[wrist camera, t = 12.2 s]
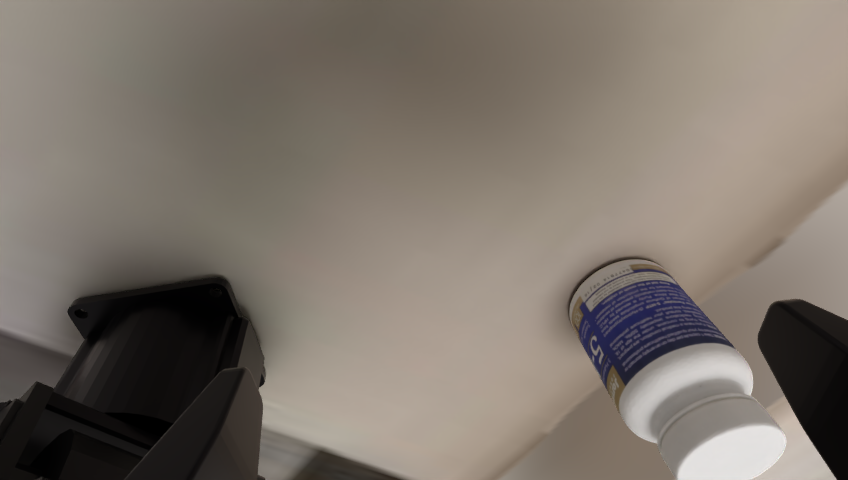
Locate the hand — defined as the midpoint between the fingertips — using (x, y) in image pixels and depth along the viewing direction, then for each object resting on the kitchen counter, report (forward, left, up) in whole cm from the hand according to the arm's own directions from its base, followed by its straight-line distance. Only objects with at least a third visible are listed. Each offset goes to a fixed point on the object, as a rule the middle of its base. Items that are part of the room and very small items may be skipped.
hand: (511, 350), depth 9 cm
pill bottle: (+9, -11, -12) cm, 18 cm away
